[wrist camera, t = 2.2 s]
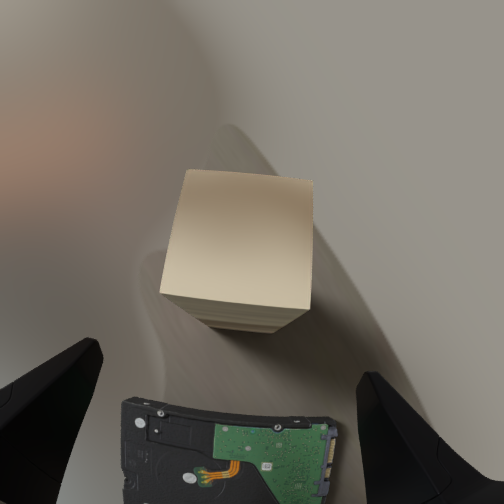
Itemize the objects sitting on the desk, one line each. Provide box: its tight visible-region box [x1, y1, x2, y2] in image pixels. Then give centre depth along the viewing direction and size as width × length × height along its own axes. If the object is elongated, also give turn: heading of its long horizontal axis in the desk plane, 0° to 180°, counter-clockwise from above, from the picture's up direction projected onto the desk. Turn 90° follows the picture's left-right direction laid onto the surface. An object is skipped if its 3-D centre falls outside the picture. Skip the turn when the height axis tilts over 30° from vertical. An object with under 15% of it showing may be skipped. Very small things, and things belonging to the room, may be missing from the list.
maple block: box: [160, 169, 313, 334], centre depth 14 cm, size 4×4×12 cm
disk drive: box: [121, 397, 338, 504], centre depth 15 cm, size 10×3×15 cm
